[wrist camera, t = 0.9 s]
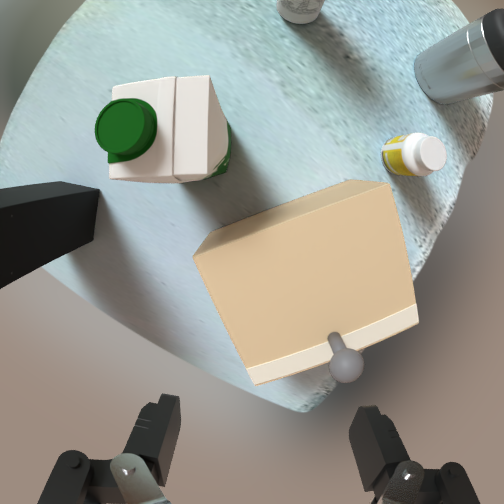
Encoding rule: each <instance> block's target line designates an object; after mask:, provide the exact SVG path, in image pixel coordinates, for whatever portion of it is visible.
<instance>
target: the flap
mask: <svg viewBox="0 0 504 504" xmlns="http://www.w3.org/2000/svg"><path fill="white" fill-rule="evenodd" d="M193 260H194V262H195V264H196V266H197V268H198V271H199V273H200V275H201V277H202V279H203V281H204V284H205V286H206V288H207V290H208V292H209V294H210V296H211V299H212V301H213V303H214V305H215V307H216V309H217V311H218V313H219V315H220V317H221V319H222V321H223V324H224V326H225V328H226V330H227V332H228V334H229V336H230V338H231V340H232V342H233V344H234V346H235V348H236V350H237V352H238V354H239V356H240V358H241V359H242V361H243V363H244V365H245V367H246V370H247V372H248V374H249V376H250V378H251V379H252V381H253V383H254V385H255V386H258V385H261V384H264V383H268V382H271V381H275V380H278V379H281V378H284V377H287V376H290V375H293V374H296V373H299V372H302V371H305V370H308V369H311V368H314V367H317V366H320V365H322V364H325V363H328V362H330V363H329V370H330V373H331V375H332V377H333V378H334V379H335V380H337V381H339V382H342V383H349V382H352V381H354V380H356V379H357V378H358V377H360V375H361V374H362V371H363V369H364V360H363V357H362V356H361V354H360V353H359V352H358V351H359V350H361V349H363V348H366V347H368V346H371V345H373V344H375V343H377V342H380V341H382V340H384V339H386V338H389V337H391V336H393V335H395V334H397V333H400V332H402V331H404V330H406V329H408V328H410V327H412V326H414V325H416V324H418V322H419V320H418V312H417V305H416V301H415V294H414V287H413V281H412V276H411V270H410V265H409V260H408V255H407V250H406V245H405V241H404V236H403V232H402V228H401V224H400V220H399V216H398V212H397V208H396V204H395V201H394V197H393V193H392V190H391V187H390V184H384V185H382V186H379V187H376V188H373V189H370V190H368V191H365V192H362V193H359V194H357V195H354V196H351V197H348V198H346V199H343V200H340V201H338V202H335V203H332V204H329V205H327V206H324V207H321V208H319V209H316V210H313V211H311V212H308V213H305V214H303V215H300V216H297V217H295V218H292V219H289V220H287V221H284V222H281V223H279V224H276V225H273V226H271V227H268V228H265V229H263V230H260V231H258V232H255V233H252V234H250V235H247V236H245V237H242V238H239V239H237V240H234V241H232V242H229V243H226V244H224V245H221V246H219V247H216V248H214V249H211V250H208V251H206V252H203V253H201V254H198V255H196V256H194V257H193Z"/></svg>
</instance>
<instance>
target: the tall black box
mask: <svg viewBox="0 0 504 504" xmlns="http://www.w3.org/2000/svg"><path fill="white" fill-rule="evenodd" d="M99 191H100V190H99V189H95V188H90V187H86V186H81V185H76V184H71V183H66V182H61V181H59V182H49V183H41V184H32V185H25V186H17V187H10V188H4V189H0V289H1V288H3V287H5V286H6V285H8V284H10V283H12V282H13V281H15V280H17V279H19V278H21V277H22V276H24V275H26V274H28V273H30V272H32V271H34V270H35V269H37V268H39V267H41V266H43V265H45V264H47V263H49V262H51V261H53V260H55V259H57V258H59V257H61V256H63V255H65V254H67V253H69V252H71V251H73V250H75V249H77V248H79V247H81V246H83V245H85V244H87V243H89V242H91V241H93V236H94V227H95V219H96V211H97V204H98V197H99Z"/></svg>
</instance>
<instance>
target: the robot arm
mask: <svg viewBox="0 0 504 504" xmlns="http://www.w3.org/2000/svg"><path fill="white" fill-rule="evenodd" d="M414 70H415V75H416V78H417V81H418V83H419V85H420V87H421V88H422V89H423V91H424V92H425V93H426V94H427V95H428V96H429V97H430V98H431V99H432V100H434V101H436V102H438V103H441V104H451V103H455V102H458V101H462V100H466V99H470V98H474V97H478V96H482V95H486V94H490V93H494V92H498V91H503V90H504V9H495V10H493V11H491V12H489V13H487V14H486V15H484V16H482V17H480V18H479V19H477V20H475V21H473V22H472V23H470V24H468V25H466V26H465V27H463V28H461V29H459V30H458V31H456V32H454V33H453V34H451V35H449V36H448V37H446V38H444V39H443V40H441V41H439V42H438V43H436V44H434V45H433V46H431V47H429V48H428V49H426V50H425V51H423V52H421V53H420V54H419V55H418V56H417V58H416V59H415V63H414ZM180 425H181V414H180V400H179V396H174V395H168V394H162V395H161V397H160V399H159V402H158V404H156V403H151V402H149V403H148V404H147V405H146V406H144V407H143V408H142V409H141V412H140V414H139V416H138V419H137V421H136V423H135V426H134V427H133V430H132V432H131V434H130V437H129V439H128V441H127V444H126V446H125V449H124V451H123V453H121V454H120V455H117V456H116V457H114V458H113V459H111V460H93V459H92V460H91V459H88V457H87V456H86V455H85V454H84V453H82V452H80V451H76V450H69V451H66V452H64V453H62V454H61V455H60V456H59V458H58V460H57V462H56V464H55V466H54V468H53V470H52V472H51V474H50V477H49V479H48V481H47V483H46V485H45V488H44V490H43V492H42V494H41V496H40V499H39V501H38V503H37V504H106V503H111V504H171V503H170V501H168V500H167V499H166V498H165V496H164V495H163V493H162V491H161V490H160V488H159V486H163V487H165V484H166V481H167V477H168V473H169V469H170V465H171V461H172V458H173V454H174V450H175V446H176V442H177V439H178V435H179V431H180ZM349 440H350V443H351V447H352V450H353V453H354V456H355V459H356V463H357V466H358V470H359V473H360V477H361V480H362V484H363V487H364V491H365V492H368V491H374V494H375V495H374V496H373V498H372V500H371V502H370V503H369V504H480V502H479V500H478V498H477V495H476V493H475V491H474V488H473V486H472V484H471V482H470V480H469V478H468V476H467V474H466V471H465V469H464V468H463V467H462V466H461V465H460V464H458V463H456V462H449V463H446V464H444V465H443V466H442V468H441V469H423V467H422V466H421V465H420V464H419V463H417V462H415V461H411V460H410V458H409V456H408V454H407V451H406V449H405V447H404V445H403V443H402V440H401V438H400V437H399V434H398V432H397V431H396V428H395V426H394V423H393V422H392V421H391V420H390V419H389V418H388V417H387V416H386V415H381V414H380V411H379V409H378V407H377V406H376V405H371V406H361V407H359V408H358V411H357V413H356V415H355V417H354V420H353V422H352V424H351V426H350V429H349ZM158 485H159V486H158Z"/></svg>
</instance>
